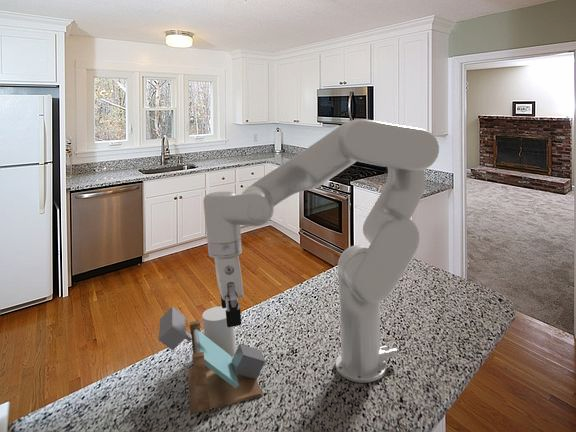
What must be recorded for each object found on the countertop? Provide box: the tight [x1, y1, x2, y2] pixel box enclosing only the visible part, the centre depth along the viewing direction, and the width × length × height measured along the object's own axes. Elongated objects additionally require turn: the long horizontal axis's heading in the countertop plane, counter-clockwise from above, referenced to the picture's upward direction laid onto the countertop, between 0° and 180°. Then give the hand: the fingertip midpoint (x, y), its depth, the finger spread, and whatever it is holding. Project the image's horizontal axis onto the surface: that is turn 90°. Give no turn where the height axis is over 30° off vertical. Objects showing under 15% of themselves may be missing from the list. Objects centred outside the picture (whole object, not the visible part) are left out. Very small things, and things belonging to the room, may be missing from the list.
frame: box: [187, 320, 263, 414], centre depth 90 cm, size 16×16×14 cm
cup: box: [201, 305, 237, 358], centre depth 103 cm, size 8×8×12 cm
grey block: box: [231, 343, 266, 380], centre depth 93 cm, size 5×5×6 cm
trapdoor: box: [158, 306, 239, 388], centre depth 88 cm, size 21×13×4 cm
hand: (231, 315), depth 89 cm, fingers open, 9 cm apart
